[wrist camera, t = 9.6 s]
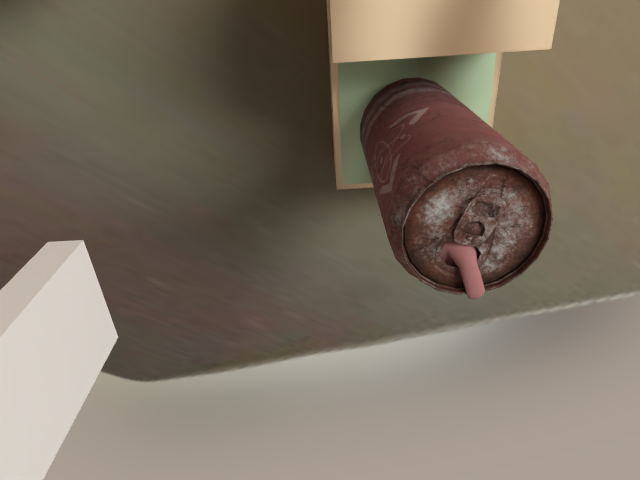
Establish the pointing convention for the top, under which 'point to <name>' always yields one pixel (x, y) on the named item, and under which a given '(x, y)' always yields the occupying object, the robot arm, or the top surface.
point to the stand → (422, 57)
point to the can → (452, 190)
